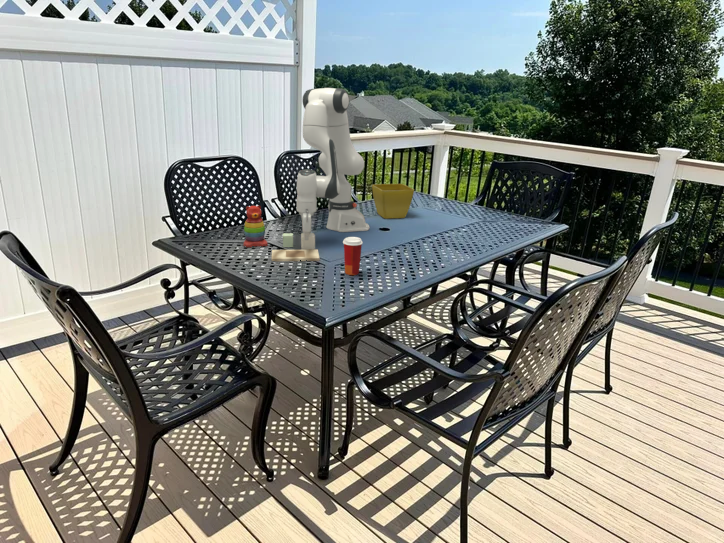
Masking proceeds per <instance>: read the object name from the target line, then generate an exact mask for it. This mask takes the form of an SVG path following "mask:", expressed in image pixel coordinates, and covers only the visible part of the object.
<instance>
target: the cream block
mask: <svg viewBox="0 0 724 543" xmlns="http://www.w3.org/2000/svg"><path fill="white" fill-rule="evenodd" d="M315 234H316V233H314V232H310V233H309V240H305V236H304V232H301V234H300V240H301V241H300V246H301V250H306V249H316V235H315Z"/></svg>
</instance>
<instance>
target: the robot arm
mask: <svg viewBox="0 0 724 543" xmlns="http://www.w3.org/2000/svg"><path fill="white" fill-rule="evenodd" d="M302 105H303V108H304V113H303V120H302V138H303V140H304V142H305V143H306V144H307V145H308V146H310V147H311V148H314V149H316V150H318V151H320V152H321V153H320V155H319V156H318V165H319V167H320V168H321V169H322V171H323V172H324V174H325V175H317V173H316V171H315V170H314V169H310V168H309V169H308V168H307V169H302V170H300V171H298V174H297V179H296V193H297V197H296V211H297V212H298V213H299V215H300V217H301V224H302V233H304V236H305V240H309V233H312V216H314V215H315V214H314V213H316V212H317V202H318V201H317V198H324V199H328V218H327V223H326V225H325V228H327V229H328V230H330V231H331V230H332V231H335V232H339V233H349V232H351V233H352V232H366V231H369V230H370V225H369V224H368V222H367V223H366V219H365V215H364V214H363V213H362V212H360V211H359V210H358V209H357V205H358V204H357V203H356V202H354V201H353V200H352V185H351V183H350V182H349V181H348V180H347V178H346V176H356V175H357V176H358V175H360V174H361V173H362V172H363V171H364V169H365V161H364V158H363V156H362V155H360V153H359V152H358V151H357V149H356V148H355V147H354V144H353V142H352V138H351V132H350V124H349V117H348V112H347V110H348V108H349V105H350V96H349V94H348V92H347V90H345V89H344V88H341V87H339V88H338V87H337V88H333V87H324V88H323V87H321V88H311V89H307V90H306V91H305V92H304V94H303V95H302ZM345 175H346V176H345Z"/></svg>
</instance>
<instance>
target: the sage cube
mask: <svg viewBox="0 0 724 543" xmlns="http://www.w3.org/2000/svg"><path fill="white" fill-rule="evenodd" d="M283 247H293V248H294V233H292V232H291V233H287V232H285V233H282V248H283Z"/></svg>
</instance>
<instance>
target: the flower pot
mask: <svg viewBox="0 0 724 543" xmlns="http://www.w3.org/2000/svg"><path fill="white" fill-rule="evenodd" d="M371 189H372V196H373V202H374V206H375V209H376V212H377V215H379V216H380V217H382V218H383V219H384V220H385V219H405V218H406V216H407V215H408V212H409V210H410V206H411V204H412V201H413V197H414V192H415V189H414V188H413V187H410V186H408V185H406V184H404V183H385V184H383V183H379V184H377V183H375V184H372V185H371Z"/></svg>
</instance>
